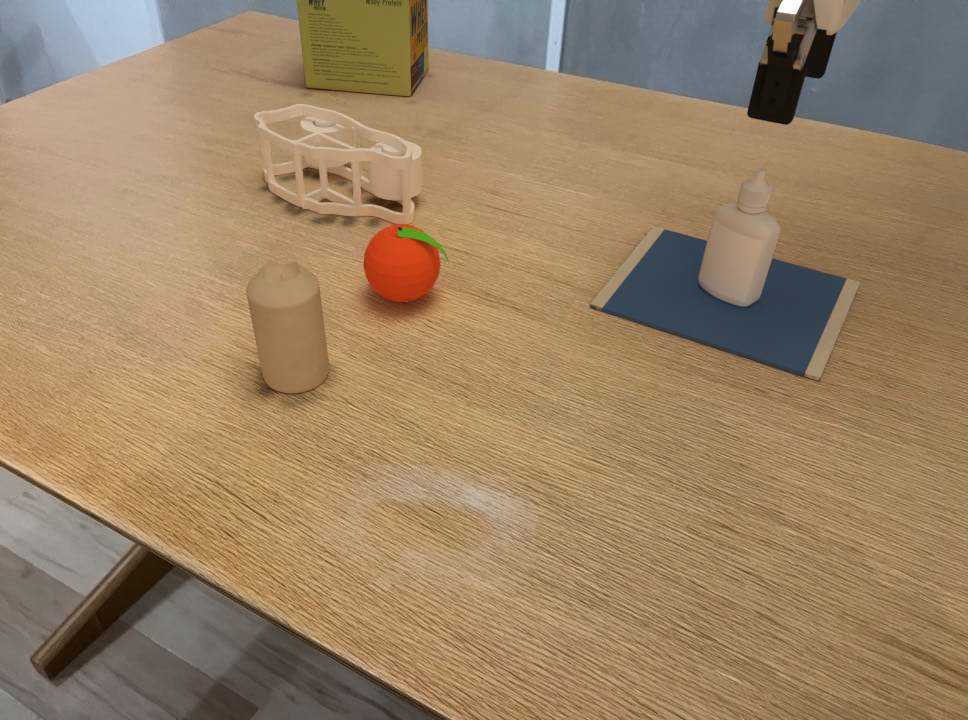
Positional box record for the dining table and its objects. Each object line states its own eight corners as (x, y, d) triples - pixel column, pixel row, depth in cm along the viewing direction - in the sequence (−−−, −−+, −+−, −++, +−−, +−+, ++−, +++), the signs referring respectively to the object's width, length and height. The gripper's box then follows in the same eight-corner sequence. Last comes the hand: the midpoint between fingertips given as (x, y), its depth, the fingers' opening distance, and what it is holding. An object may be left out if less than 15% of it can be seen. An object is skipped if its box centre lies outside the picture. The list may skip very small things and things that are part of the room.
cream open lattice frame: (444, 205, 89) (444, 140, 84) (369, 245, 83) (364, 177, 78) (323, 150, 99) (317, 89, 94) (249, 181, 93) (238, 118, 88)
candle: (249, 372, 68) (228, 270, 61) (302, 343, 71) (287, 242, 64) (290, 403, 65) (272, 299, 58) (343, 372, 68) (332, 269, 61)
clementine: (461, 284, 77) (462, 216, 73) (436, 326, 72) (436, 256, 68) (382, 269, 79) (378, 202, 75) (353, 309, 75) (347, 240, 70)
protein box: (412, 97, 111) (409, -29, 100) (304, 88, 113) (290, -35, 103) (430, 69, 118) (429, -51, 108) (328, 61, 121) (317, -56, 110)
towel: (859, 285, 76) (860, 281, 76) (818, 381, 66) (820, 377, 66) (653, 229, 84) (653, 225, 84) (589, 307, 74) (590, 303, 74)
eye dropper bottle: (718, 312, 73) (752, 188, 65) (692, 277, 77) (721, 156, 69) (764, 306, 73) (804, 182, 65) (735, 272, 77) (769, 152, 69)
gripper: (898, -146, 45) (809, 151, 56) (944, -191, 55) (861, 67, 67) (759, -155, 48) (701, 129, 59) (827, -195, 58) (767, 52, 70)
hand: (786, 96), depth 63 cm, fingers open, 9 cm apart
